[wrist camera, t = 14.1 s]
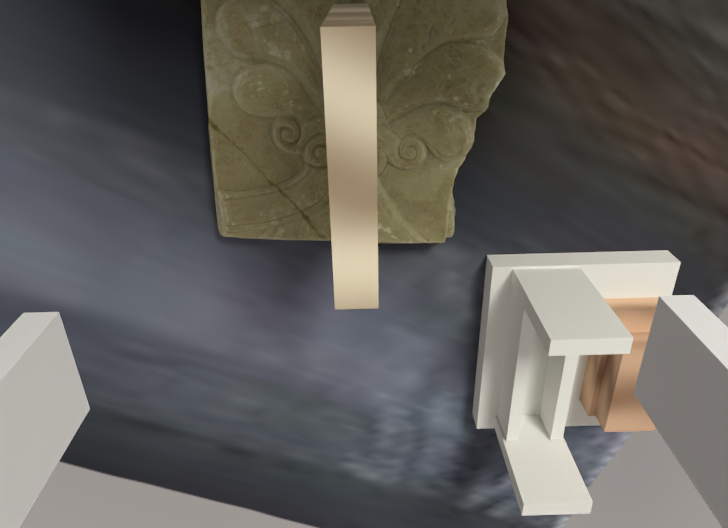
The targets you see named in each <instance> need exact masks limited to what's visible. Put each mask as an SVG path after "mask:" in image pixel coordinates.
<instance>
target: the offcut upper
mask: <svg viewBox="0 0 728 528" xmlns="http://www.w3.org/2000/svg"><path fill="white" fill-rule="evenodd" d="M631 335H632V336H633V337H634V338H633V342H632V346H631V350H630V354H608V356H607V361H606V365H605V370H604V374H603V379H602V383H601V387H600V392H599V396H598V401H597V405H596V409H595V416H596V418H597V420H598V422H599V423H600V425H601V427H602V429H603V431H604V432H619V431H651V430H655V428H656V427H655V425H654V424H653V422H652V421H651V419H650V418H649V416H648V415H647V413H646V412H645V410H644V409H643V407H642V406H641V404H640V403H639V401H638V400H637V398H636V397H635V395H634V394H633V393H634V389H635V385H636V382H637V378H638V374H639V370H640V366H641V363H642V359H643V355H644V351H645V347H646V344H647V340H648V336H649V332H631Z"/></svg>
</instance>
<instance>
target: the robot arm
mask: <svg viewBox="0 0 728 528" xmlns="http://www.w3.org/2000/svg"><path fill="white" fill-rule="evenodd" d="M633 394H634V395H635V397H636V398H637V400H638V401H639V403H640V404H641V406H642V407H643V409H644V410H645V412H646V413H647V415H648V416H649V418H650V419H651V421H652V422H653V424H654V425H655V427H656V428H657V430H658V431H659V433H660V434H661V436H662V437H663V439H664V440H665V442H666V443H667V445H668V446H669V448H670V449H671V451H672V452H673V454H674V455H675V457H676V458H677V460H678V462H679V463H680V464H681V466H682V468H683V469H684V470H685V472H686V474H687V475H688V477H689V478H690V480H691V481H692V483H693V484H694V486H695V487H696V489H697V490H698V492H699V493H700V494H701V496H702V498H703V499H704V501H705V502H706V504H707V505H708V507H709V508H710V510H711V511H712V513H713V514H714V516H715V517H716V519H717V520H718V522H719V523H720V525H721V526H722V528H728V327H727V326H725V325H724V324H723V323H722V322H721V321H720V320H719V319H718V318H717V317H716V316H715V315H714V314H713V313H712V312H711V311H710V310H709V309H708V308H707V307H706V306H705V305H704V304H703V303H701V302H700V301H699V300H698V299H697V298H696V297H695V296H694V295H676V296H659V298H658V302H657V306H656V309H655V313H654V317H653V321H652V325H651V328H650V332H649V336H648V340H647V344H646V347H645V351H644V355H643V359H642V363H641V366H640V370H639V374H638V378H637V382H636V385H635V389H634V393H633ZM89 410H90V407H89V404H88V401H87V398H86V395H85V392H84V388H83V385H82V382H81V379H80V376H79V373H78V370H77V367H76V363H75V360H74V357H73V354H72V351H71V348H70V345H69V342H68V338H67V335H66V332H65V329H64V326H63V323H62V320H61V317H60V313H59V312H36V313H23V314H22V315H21V316H20V317H19V318H18V319H17V320H16V321H15V322H14V323H13V325H12V326H11V327H10V328H9V329H8V330H7V331H6V332H5V333H4V334H3V335H2V336H1V337H0V528H20V527H21V525H22V523H23V522H24V520H25V518H26V517H27V515H28V513H29V511H30V510H31V508H32V506H33V505H34V503H35V501H36V499H37V498H38V496H39V495H40V493H41V491H42V489H43V488H44V486H45V484H46V483H47V481H48V479H49V478H50V476H51V474H52V472H53V470H54V469H55V467H56V466H57V464H58V462H59V461H60V459H61V457H62V455H63V454H64V452H65V450H66V449H67V447H68V445H69V444H70V442H71V440H72V439H73V437H74V435H75V433H76V432H77V430H78V428H79V427H80V425H81V423H82V422H83V420H84V418H85V416H86V415H87V413H88V411H89Z"/></svg>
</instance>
